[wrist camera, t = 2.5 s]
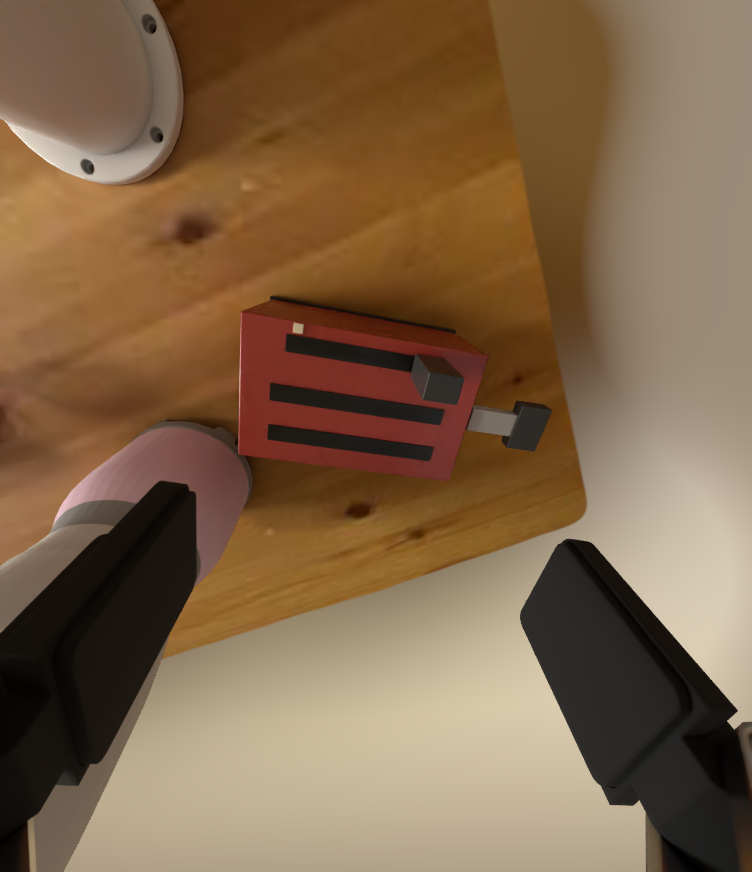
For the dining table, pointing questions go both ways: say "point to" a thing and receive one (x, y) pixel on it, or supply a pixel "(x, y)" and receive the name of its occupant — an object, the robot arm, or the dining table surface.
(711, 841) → the robot arm
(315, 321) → the toaster
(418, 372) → the browning slider
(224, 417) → the dining table surface
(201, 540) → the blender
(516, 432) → the bread lever
